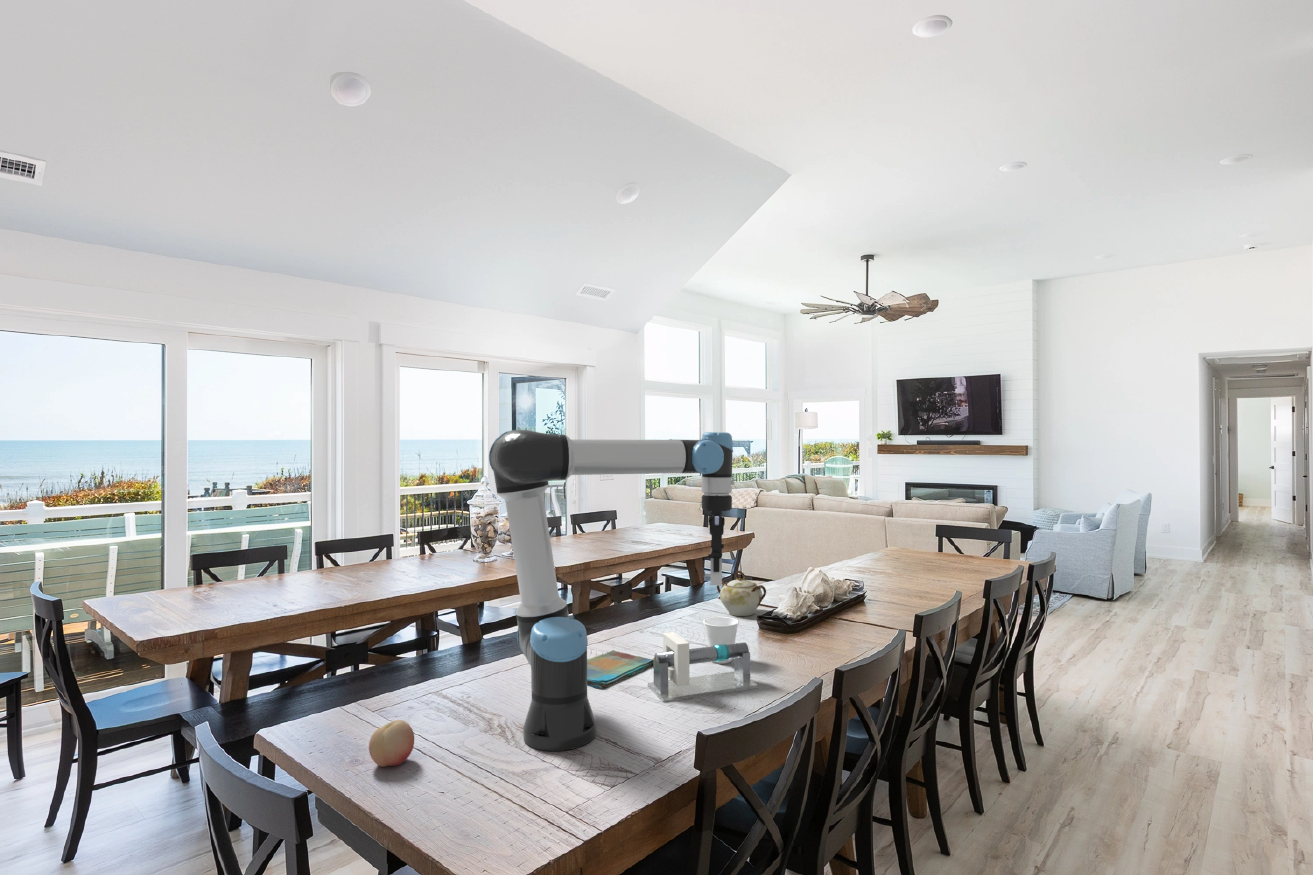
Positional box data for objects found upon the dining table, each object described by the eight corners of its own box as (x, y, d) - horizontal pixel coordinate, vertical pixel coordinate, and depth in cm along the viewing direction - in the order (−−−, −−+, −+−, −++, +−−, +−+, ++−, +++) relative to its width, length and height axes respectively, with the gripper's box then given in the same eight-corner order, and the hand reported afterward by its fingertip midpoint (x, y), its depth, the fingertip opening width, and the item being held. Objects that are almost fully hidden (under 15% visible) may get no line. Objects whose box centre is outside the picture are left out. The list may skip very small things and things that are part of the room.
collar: (677, 686, 167) (677, 644, 167) (663, 672, 176) (663, 633, 176) (689, 684, 168) (689, 642, 168) (674, 671, 177) (674, 632, 177)
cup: (737, 667, 189) (737, 626, 189) (701, 665, 191) (700, 625, 191) (740, 655, 199) (740, 617, 199) (705, 654, 201) (705, 615, 200)
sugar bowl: (705, 613, 246) (705, 571, 245) (728, 605, 257) (727, 564, 257) (755, 622, 234) (755, 577, 234) (776, 613, 246) (776, 570, 245)
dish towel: (552, 678, 184) (552, 668, 184) (610, 655, 202) (610, 646, 202) (601, 692, 173) (601, 682, 173) (658, 666, 192) (657, 657, 192)
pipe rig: (662, 701, 165) (662, 659, 165) (647, 686, 175) (647, 646, 175) (757, 688, 173) (757, 647, 173) (738, 673, 184) (737, 635, 184)
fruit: (382, 753, 140) (382, 713, 140) (421, 755, 139) (420, 714, 139) (361, 773, 132) (361, 730, 132) (402, 774, 131) (401, 732, 131)
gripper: (733, 498, 161) (732, 590, 161) (730, 490, 186) (729, 570, 186) (700, 498, 162) (699, 589, 162) (702, 490, 187) (701, 569, 187)
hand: (715, 579), depth 174 cm, fingers open, 13 cm apart
